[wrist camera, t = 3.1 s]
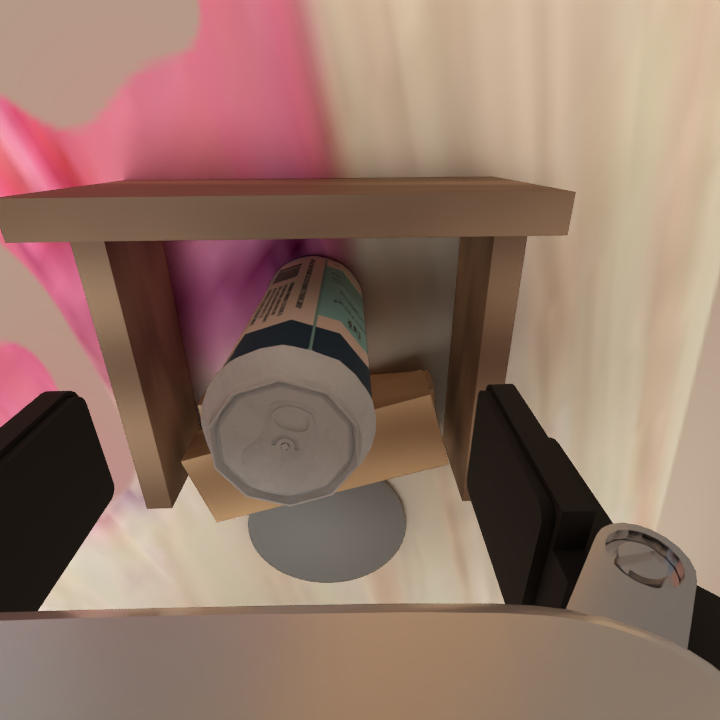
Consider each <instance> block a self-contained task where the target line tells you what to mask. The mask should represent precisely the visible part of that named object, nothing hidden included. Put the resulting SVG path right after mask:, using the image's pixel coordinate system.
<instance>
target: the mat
mask: <svg viewBox="0 0 720 720" xmlns="http://www.w3.org/2000/svg"><path fill="white" fill-rule="evenodd" d="M248 527H249V534H250V538H251V541H252V543H253V545H254V547H255V549H256V550H257V552H258V553H259V554H260V555H261V557H262V558H263V559H264V560H265V561H267V562H268V563H269V564H270V565H271V566H273V567H274V568H276V569H277V570H279V571H281V572H283V573H285V574H287V575H290V576H292V577H295V578H298V579H301V580H306V581H311V582H320V583H333V582H343V581H349V580H353V579H357V578H360V577H363V576H365V575H368V574H370V573H372V572H374V571H376V570H377V569H379V568H380V567H382V566H383V565H384V564H386V563H387V562H388V561H389V560H390V559H391V558H392V557H393V556H394V555H395V553H396V552H397V551H398V549H399V547H400V545H401V543H402V541H403V538H404V535H405V528H406V526H405V515H404V510H403V506H402V503H401V501H400V499H399V497H398V495H397V494H396V492H395V491H394V490H393V489H392V487H391V486H390V485H389V484H388V483H387V482H386V481H384V480H383V481H379V482H375V483H371V484H367V485H363V486H359V487H355V488H351V489H347V490H343V491H339V492H335V493H334V494H333V495H331V496H327V497H324V498H320V499H316V500H313V501H309V502H305V503H302V504H298V505H294V506H291V507H290V506H285V505H283V506H279V507H276V508H272V509H268V510H264V511H260V512H256V513H252V514H249V521H248Z"/></svg>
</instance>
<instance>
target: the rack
mask: <svg viewBox="0 0 720 720" xmlns="http://www.w3.org/2000/svg"><path fill="white" fill-rule="evenodd" d="M575 193H576V192H572V191H567V190H562V189H556V188H551V187H545V186H540V185H535V184H529V183H524V182H518V181H513V180H507V179H502V178H497V177H414V178H319V179H225V180H130V181H116V182H109V183H102V184H94V185H87V186H79V187H72V188H65V189H57V190H50V191H43V192H35V193H28V194H21V195H13V196H6V197H0V229H1V232H2V235H3V237H4V240H5V243H20V242H70V244H71V247H72V251H73V254H74V257H75V261H76V264H77V268H78V271H79V275H80V278H81V282H82V285H83V289H84V292H85V296H86V299H87V303H88V306H89V309H90V313H91V316H92V320H93V323H94V327H95V330H96V334H97V337H98V341H99V344H100V348H101V351H102V355H103V358H104V361H105V365H106V368H107V372H108V375H109V379H110V382H111V386H112V389H113V393H114V396H115V400H116V403H117V407H118V410H119V413H120V417H121V420H122V424H123V427H124V431H125V434H126V438H127V441H128V444H129V448H130V451H131V455H132V458H133V462H134V465H135V469H136V472H137V476H138V479H139V483H140V486H141V490H142V493H143V497H144V500H145V504H146V507H147V509H153V508H172V507H173V505H174V503H175V501H176V499H177V497H178V495H179V493H180V491H181V489H182V487H183V485H184V483H185V481H186V479H187V477H188V473H187V471H186V470H185V468H184V466H183V465H182V463H181V460H182V458H183V456H184V455H185V453H186V451H187V449H188V447H189V445H190V444H191V442H192V440H193V438H194V436H195V434H196V432H197V431H199V430H200V427H199V422H198V417H197V412H196V407H195V401H194V396H193V391H192V386H191V381H190V376H189V371H188V366H187V361H186V356H185V351H184V346H183V341H182V336H181V331H180V326H179V321H178V316H177V311H176V306H175V301H174V296H173V291H172V286H171V281H170V276H169V271H168V266H167V261H166V256H165V251H164V246H163V241H172V240H249V239H325V238H401V237H460V245H459V257H458V268H457V280H456V291H455V302H454V314H453V325H452V336H451V348H450V359H449V370H448V382H447V393H446V404H445V416H444V427H443V438H442V440H443V443H444V446H445V449H446V452H447V455H448V458H449V462H450V465H451V468H452V471H453V474H454V477H455V480H456V483H457V486H458V489H459V492H460V495H461V498H462V501H471V499H470V496H469V493H468V488H467V473H468V466H469V458H470V451H471V443H472V436H473V428H474V421H475V413H476V406H477V398H478V393H479V391H480V390H486V387H487V385H489V384H505V378H506V372H507V365H508V359H509V352H510V345H511V339H512V332H513V326H514V319H515V313H516V306H517V299H518V293H519V286H520V280H521V273H522V267H523V260H524V254H525V247H526V240H527V236H553V235H567V234H568V229H569V224H570V219H571V214H572V208H573V203H574V198H575Z"/></svg>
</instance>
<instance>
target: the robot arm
mask: <svg viewBox="0 0 720 720" xmlns="http://www.w3.org/2000/svg"><path fill="white" fill-rule="evenodd" d="M467 488H468V493H469V496H470V499H471V502H472V505H473V508H474V511H475V514H476V517H477V520H478V523H479V526H480V529H481V532H482V535H483V538H484V541H485V544H486V547H487V550H488V553H489V556H490V559H491V562H492V565H493V568H494V572H495V575H496V578H497V581H498V584H499V587H500V590H501V593H502V596H503V599H504V602H505V604H350V605H289V606H238V607H191V608H148V609H105V610H70V611H38V610H39V608H40V607H41V605H42V604H43V602H44V600H45V599H46V597H47V596H48V594H49V593H50V591H51V590H52V588H53V587H54V585H55V584H56V582H57V581H58V579H59V578H60V576H61V575H62V573H63V572H64V570H65V569H66V567H67V566H68V564H69V563H70V561H71V560H72V558H73V557H74V555H75V554H76V552H77V551H78V549H79V548H80V546H81V545H82V543H83V542H84V540H85V539H86V537H87V536H88V534H89V533H90V531H91V530H92V528H93V527H94V525H95V523H96V522H97V520H98V519H99V517H100V516H101V514H102V513H103V511H104V510H105V508H106V507H107V505H108V504H109V502H110V501H111V499H112V497H113V494H114V483H113V480H112V477H111V474H110V471H109V469H108V465H107V462H106V460H105V457H104V454H103V451H102V448H101V445H100V442H99V439H98V436H97V433H96V430H95V428H94V425H93V422H92V419H91V416H90V413H89V410H88V407H87V404H86V402H85V400H84V399H83V398H81V397H79V396H78V395H77V394H76V393H75V392H72V391H48V392H44V393H42V394H40V395H39V396H38V397H37V398H36V399H34V400H33V401H32V402H31V403H30V404H28V405H27V406H26V407H25V408H23V409H22V410H21V411H20V412H19V413H17V414H16V415H15V416H14V417H13V418H11V419H10V420H9V421H8V422H7V423H5V424H4V425H3V426H2V427H0V720H720V597H718V596H716V595H715V594H713V593H711V592H709V591H707V590H705V589H703V588H701V587H699V586H697V578H696V571H695V569H694V567H693V565H692V563H691V561H690V559H689V558H688V557H687V556H686V555H685V554H684V553H683V552H682V550H681V549H680V548H679V547H678V546H676V545H675V544H674V543H672V542H671V541H670V540H668V539H667V538H666V537H664V536H662V535H660V534H658V533H656V532H654V531H652V530H650V529H647V528H644V527H641V526H638V525H634V524H627V523H616V524H613V523H612V521H611V520H610V518H609V517H608V515H607V514H606V512H605V511H604V509H603V508H602V507H601V505H600V504H599V502H598V501H597V499H596V498H595V496H594V495H593V493H592V492H591V490H590V489H589V487H588V486H587V484H586V483H585V482H584V480H583V479H582V477H581V476H580V474H579V473H578V471H577V470H576V468H575V467H574V465H573V464H572V462H571V461H570V459H569V458H568V456H567V455H566V454H565V452H564V451H563V449H562V448H561V446H560V445H559V443H558V442H557V441H556V440H555V439H553V438H549V437H548V436H547V434H546V433H545V431H544V430H543V428H542V427H541V425H540V424H539V422H538V421H537V419H536V418H535V416H534V415H533V413H532V412H531V410H530V408H529V407H528V405H527V404H526V402H525V401H524V399H523V398H522V396H521V395H520V393H519V392H518V390H517V389H516V387H515V386H514V385H513V384H489V385H487V387H486V390H480V391H479V393H478V398H477V406H476V413H475V421H474V428H473V436H472V443H471V451H470V458H469V466H468V473H467Z"/></svg>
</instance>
